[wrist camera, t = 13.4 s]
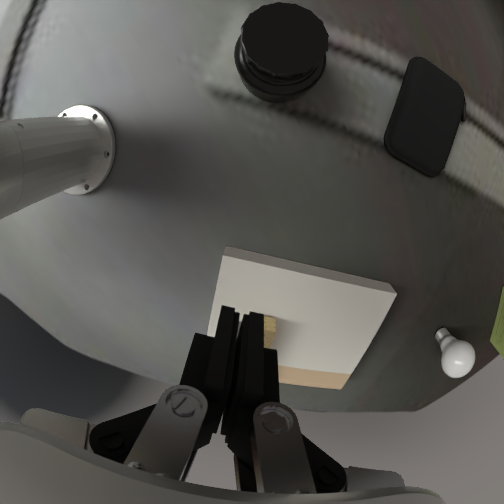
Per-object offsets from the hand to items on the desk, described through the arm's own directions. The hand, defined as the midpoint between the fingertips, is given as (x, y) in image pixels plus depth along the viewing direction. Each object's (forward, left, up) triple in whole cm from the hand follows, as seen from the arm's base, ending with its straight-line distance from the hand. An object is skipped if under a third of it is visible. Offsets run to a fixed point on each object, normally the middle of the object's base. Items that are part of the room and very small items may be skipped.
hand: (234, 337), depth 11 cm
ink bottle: (-1, +16, -25) cm, 30 cm away
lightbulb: (+38, -14, -25) cm, 48 cm away
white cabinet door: (+10, -18, -25) cm, 32 cm away
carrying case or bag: (+19, +17, -26) cm, 36 cm away
